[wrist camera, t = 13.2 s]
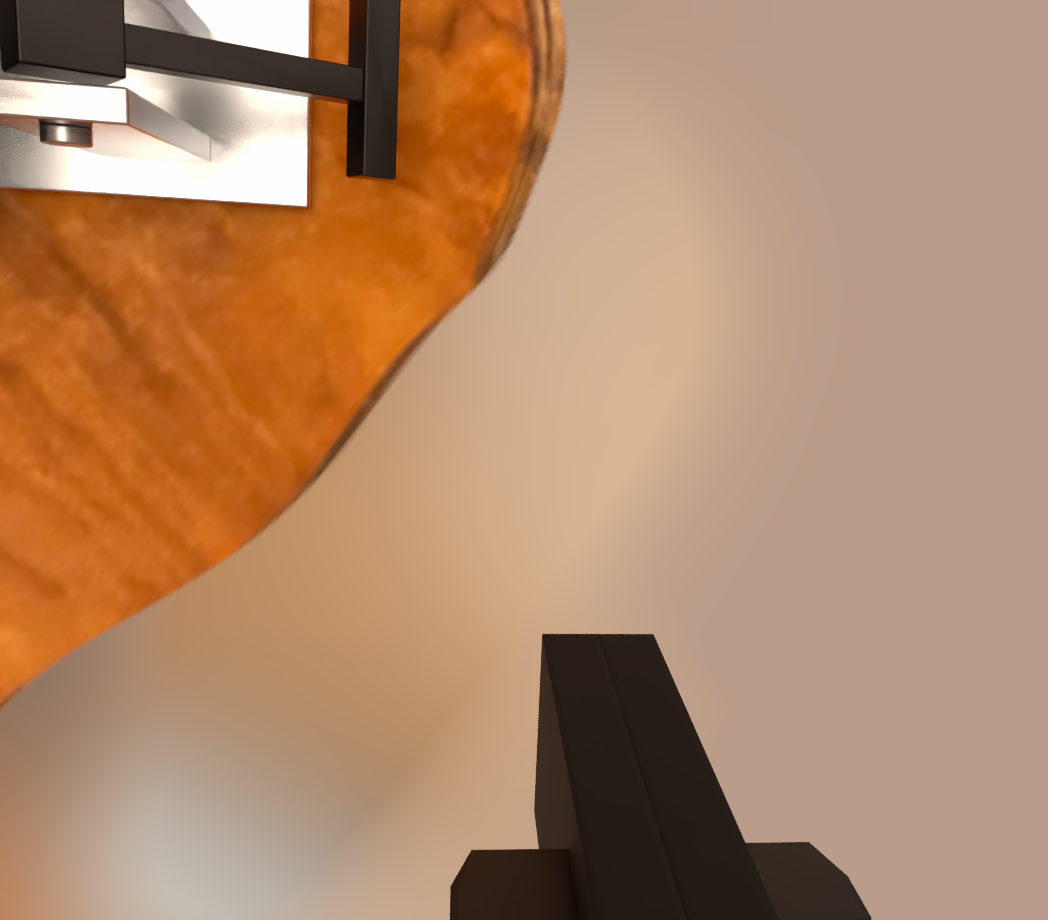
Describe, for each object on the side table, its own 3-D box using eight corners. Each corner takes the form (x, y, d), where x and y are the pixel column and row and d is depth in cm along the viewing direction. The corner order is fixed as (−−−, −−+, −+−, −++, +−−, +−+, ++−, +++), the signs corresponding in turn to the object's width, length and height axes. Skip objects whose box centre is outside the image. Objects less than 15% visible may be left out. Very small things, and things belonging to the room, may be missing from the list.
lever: (374, 6, 33) (410, -5, 32) (370, 181, 35) (404, 179, 33) (-8, -85, 26) (9, -106, 24) (4, 141, 27) (22, 136, 26)
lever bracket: (313, 1, 37) (270, -121, 25) (310, 209, 39) (270, 191, 27) (-10, -30, 36) (-227, -177, 23) (3, 188, 37) (-193, 159, 25)
